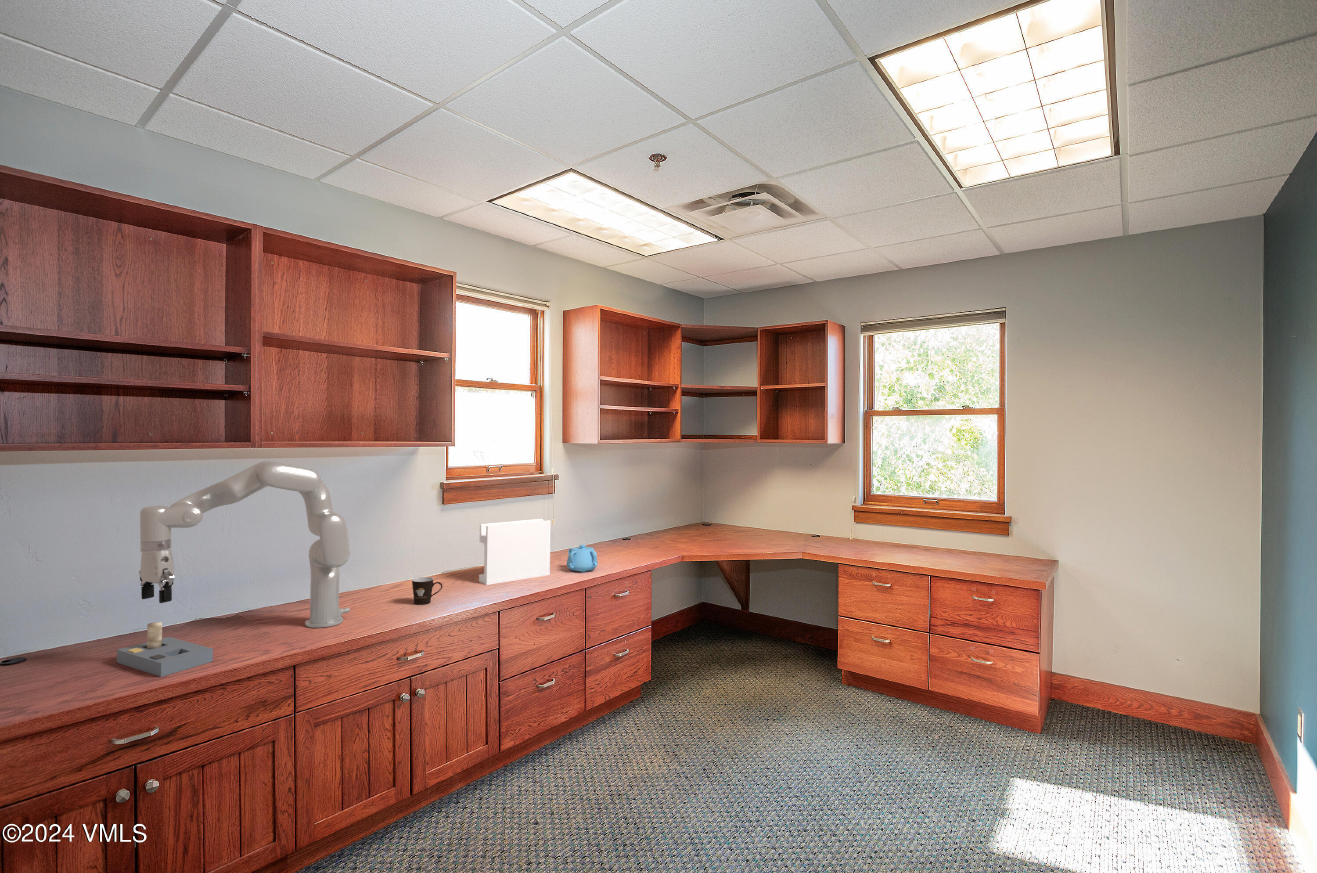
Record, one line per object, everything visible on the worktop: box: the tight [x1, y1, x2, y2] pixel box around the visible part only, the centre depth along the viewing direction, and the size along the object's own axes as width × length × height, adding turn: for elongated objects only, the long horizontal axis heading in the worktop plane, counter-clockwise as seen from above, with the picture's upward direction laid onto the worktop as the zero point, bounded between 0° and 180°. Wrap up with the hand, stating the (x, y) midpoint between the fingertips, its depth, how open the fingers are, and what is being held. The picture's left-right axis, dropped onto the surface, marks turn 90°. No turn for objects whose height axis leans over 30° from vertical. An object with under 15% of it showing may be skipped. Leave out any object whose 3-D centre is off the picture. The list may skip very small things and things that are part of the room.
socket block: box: [116, 636, 214, 678], centre depth 194 cm, size 14×24×4 cm, turn 65°
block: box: [478, 518, 552, 586], centre depth 312 cm, size 35×8×28 cm, turn 132°
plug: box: [146, 621, 163, 650], centre depth 196 cm, size 4×4×10 cm
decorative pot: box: [566, 544, 599, 573], centre depth 333 cm, size 16×16×14 cm
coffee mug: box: [411, 576, 443, 606], centre depth 264 cm, size 12×9×10 cm
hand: (156, 600), depth 196 cm, fingers open, 9 cm apart
